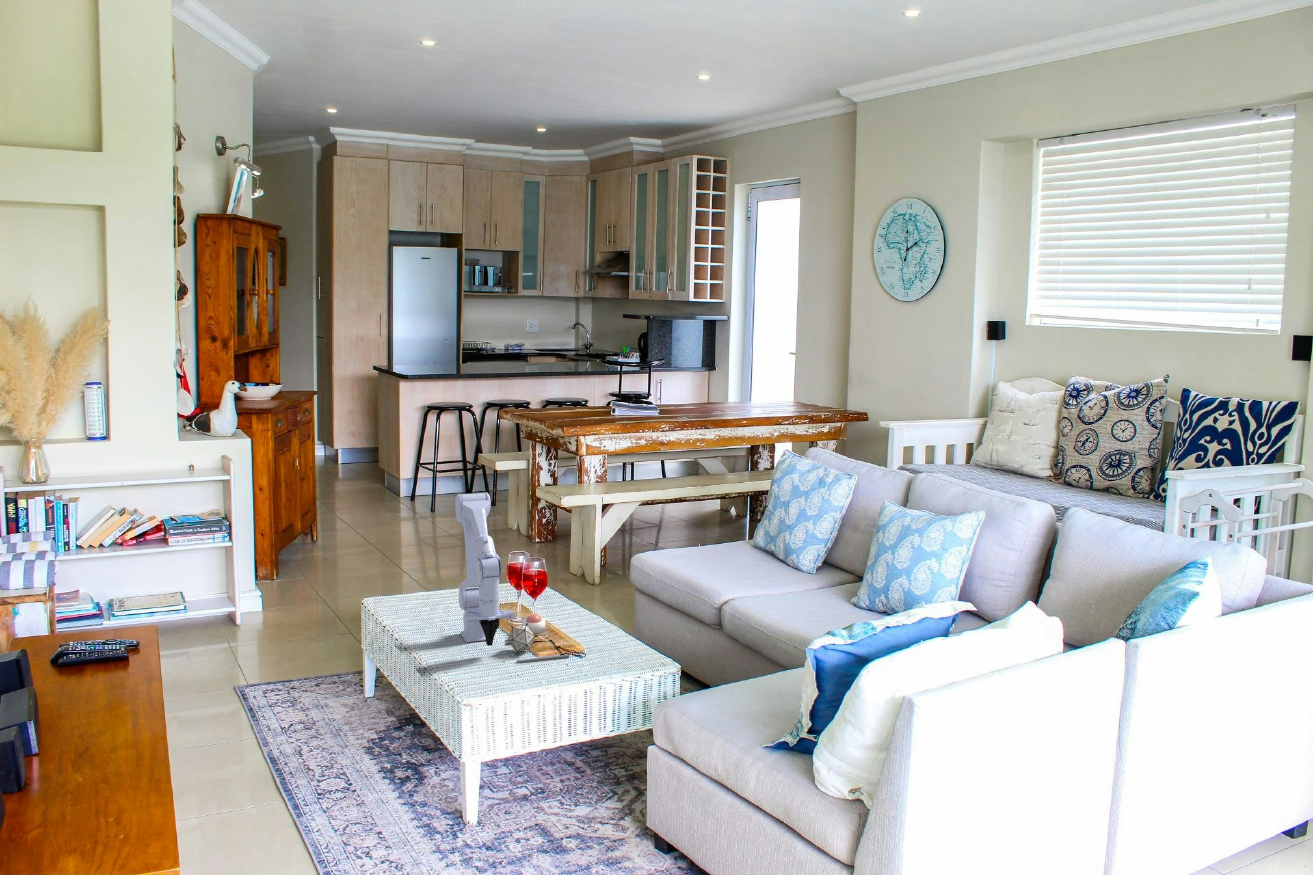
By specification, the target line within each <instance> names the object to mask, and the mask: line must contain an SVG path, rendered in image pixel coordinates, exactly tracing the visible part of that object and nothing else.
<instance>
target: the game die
mask: <svg viewBox="0 0 1313 875" xmlns="http://www.w3.org/2000/svg"><path fill="white" fill-rule="evenodd" d="M527 625H528V623H526V625H525V626H522V625H520V626H514V625H510V628H511V631H510V633H509V635H508V638H507V639H506V640H504V643H505V642H509V644H510V645H509V646H510V647H512V649H513V650H514V651H515V652H514V655H516V654H517V653H518V652H524V651H530V649H531V648H532V645H533V643H534V642H533V641H534V638H535V637H537V636H538V635H534V634H533V633H532V631H531V630H530V629H529V628H528V626H527Z"/></svg>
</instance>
